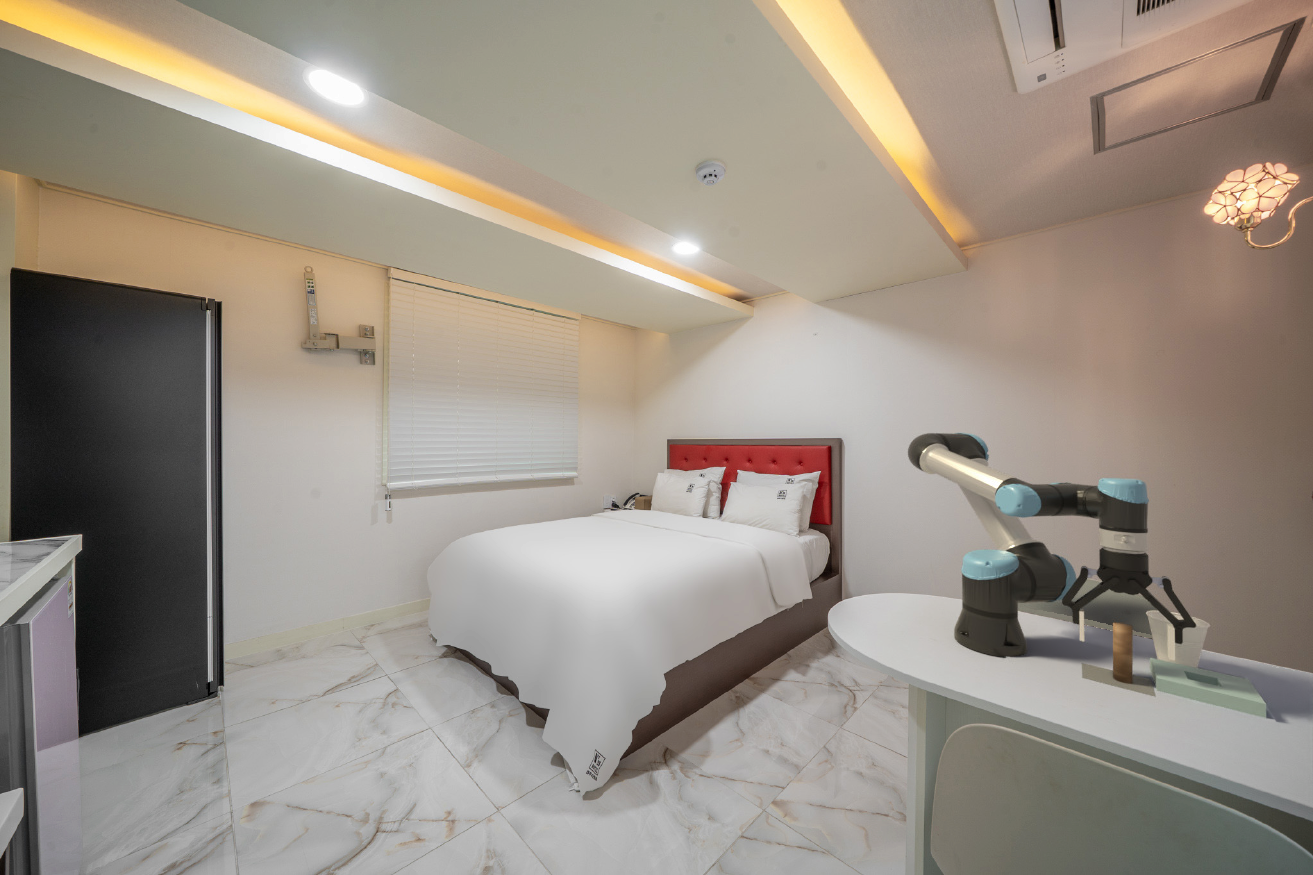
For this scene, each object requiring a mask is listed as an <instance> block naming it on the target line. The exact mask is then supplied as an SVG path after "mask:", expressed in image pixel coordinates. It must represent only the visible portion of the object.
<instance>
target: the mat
mask: <svg viewBox="0 0 1313 875" xmlns="http://www.w3.org/2000/svg"><path fill="white" fill-rule="evenodd" d="M1081 678H1082V679H1085V680H1089V681H1094V682H1096V683H1100V684H1101V683H1102V684H1104V685H1109V686H1113V687H1117V688H1120V689H1125V690H1128V691H1131V692H1134V693H1140V694H1142V695H1143V694H1144V695H1146V696H1147V695H1148V696H1151V697H1154V698H1156V693H1155V691H1154V687H1153V683H1152V680H1151V679H1150V678H1146V677H1142V676H1137V675H1133V683H1132V684H1126V683H1122V682H1119V681H1116V680H1115V679H1113V669H1109V668H1105V667H1100V666H1096V665H1092V664H1087V663H1084V662H1081Z"/></svg>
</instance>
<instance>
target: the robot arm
mask: <svg viewBox="0 0 1313 875" xmlns="http://www.w3.org/2000/svg"><path fill="white" fill-rule="evenodd" d="M988 453H989V447H988V446H987V443H986V442H985V441H984V439H982V438H981V437H980V436H978V435H976V434H972V433H966V432H955V433H944V432H943V433H937V432H936V433H935V432H928V433H923V434H920V435H917V436H916V437H915V438H914V439H913V440H912V441H911V442H910V443H909V445H908V448H907V457H908V460H909V461H910V463H911V464H912V465H913V467H915V468H916V469H918V470H919V471H921V472H923V473H925V474H929V475H938V476H940V477H942V478H944V479H947V480H948V481H951V482H953V483H954V484H957V485H958V486H959V488H960V490H961V492H962V493H963V495H964V497H965V498H966V500H967V502H968V503H969V505H970V507H971V509H973V511H974V513H975V516H977V518H978V519H979V521H980V523H981V524H982V526H983V528H984V529H985V531H986V533H987V535H988V536H989V538H990V539H991V541H992V542H993V544H994V546H995V548H996V549H986V548H985V549H976V550H972V551H969V552H967V553H966V554H964V556H962V557H963V558H962V566H961V568H960V569H961V579H962V580H961V584H962V586H961V587H962V588H961V589H962V590H961V591H962V592H961V595H962V596H961V597H962V598H961V599H962V600H961V602H962V603H961V604H962V605H961V606H962V607H961V610H960V614H959V616H958V619H957V621H956V623H955V626H954V631H953V632H954V633H953V635H954V639H955V641H956V640H957V641H956V642H958V643H959V644H960V645H962V646H963V647H966V648H968V649H970V650H972V651H975V652H978V653H981V654H986V655H989V656H996V657H1002V658H1007V657H1009V658H1012V657H1013V658H1015V657H1022V656H1024V655H1026V654H1027V652H1028V643H1027V640H1026V637H1025V635H1024V632H1023V628H1022V627H1021V624H1020V622H1019V604H1027V603H1029V604H1030V603H1031V604H1032V603H1055V602H1058V601H1061V604H1062V605H1063V606H1065V607H1068V608H1070V609H1071V611H1072V623H1073V624H1074V625H1079V642H1085V610H1084V607H1085V606H1086V605H1088V604H1090V603H1091V602H1093V600H1095V599H1097V598H1098V597H1099V596H1101V595H1102V594H1104V593H1106V592H1107V591H1109V590H1110V591H1111V592H1113V593H1118V594H1127V595H1131V596H1135V595H1139V594H1140V595H1141V596H1142V597H1143V598H1144V599H1145V600H1147V602H1149V604H1151V606H1153V608H1155V609H1156V611H1159V612H1160V613H1161V614H1162V615H1163V616H1164V617H1165V618H1166V619H1167V620H1168V621H1169V622H1170V623H1171V624H1173V625H1171V624H1167V644H1168V657H1169V659H1170V660H1175V643H1177V644H1182V643H1183V629H1184V628H1189V627H1191V628H1195V627H1196V624H1195V622H1194V621H1193V619H1192V618H1191V615H1190V613H1189V612H1188V611H1187V609H1186V607H1185V606H1184V605H1183V603H1182V601H1180V599H1179V597H1178V596H1177V595H1176V593H1175V591H1174V590H1173V584H1172V581H1171V579H1170V578H1169V577H1168V576H1164V575H1163V576H1161V577H1158V576H1156V577H1155V576H1151V575H1150V573H1149V572H1150V571H1149V570H1150V569H1149V568H1150V567H1149V566H1150V565H1149V559H1150V558H1149V554H1148V553H1147V551H1149V528H1148V512H1149V510H1148V509H1149V502H1150V499H1149V498H1148V488H1147V484H1146V482H1145V481H1143V480H1141V479H1137V478H1119V477H1103V478H1100V479H1099V480H1098V484H1097V485H1088V484H1079V483H1072V482H1051V483H1048V484H1047V483H1046V484H1045V483H1041V484H1040V483H1039V484H1037V483H1029V482H1027V481H1025V480H1022V479H1019V478H1017V477H1014V476H1012V475H1009V474H1007V473H1005V472H1002V471H999V470H997V469H995V468H992V467H989V462H988V461H989V458H990V454H988ZM1067 516H1068V517H1069V516H1070V517H1072V516H1075V517H1085V518H1092V519H1096V520H1098V530H1099V531H1098V537H1099V538H1098V542H1099V543H1098V544H1099V546H1100V549H1099V551H1098V552H1099V556H1098V558H1099V566H1098V569H1094V568H1091V567H1087V566H1086V565H1081V567H1080V572H1079V575H1078V577H1077V574H1076V571H1075V569H1074V566H1073V565H1072V564H1071V562H1069V560H1068V559H1067V558H1065V557H1063V556H1060V555H1058V554H1056V553H1051V552H1050V550H1049V549H1048V548H1047V547H1048V546H1046V544H1045V543H1044V542H1043V541H1040V540H1037V539H1034V538H1033V537H1032V536H1031V534H1030V532H1029V531H1028V529H1027V528H1026V526H1025V525H1024V523H1023V522H1022V520H1021V519H1020V518H1022V519H1023V518H1030V517H1032V518H1033V517H1067ZM1093 576H1097V577H1098V578H1099V579H1100V581H1101V582H1099V583H1098V584H1097V585H1096V586H1094V587H1092V589H1090V590H1089V591H1087V592H1086V593H1084V594H1083V595H1082V596H1080V598H1078V599H1077V600H1075V601H1073V599H1074V598H1075V597H1076V595H1077V594H1078V593H1079V591H1080V590H1081V589H1082V588H1083V586H1084V585H1085V583H1086V582H1087V579H1092V578H1093ZM1152 583H1153V584H1156V586H1157V587H1158V588H1159V589H1163V591H1164V592H1165V594H1166V595H1167V597H1168V599H1169V600H1170V601H1171V603H1172V604H1173V606H1174V607H1175V609H1176V611H1177V612H1178V613H1179V614H1180V615H1181V616H1182V618H1183V620H1178V619H1177V618H1176V617H1175V616H1174V615H1173V614H1172V613H1171V611H1170V610H1169V609H1168V608H1167V607H1165V605H1164V604H1162V602H1161V601H1160V600H1158V599H1157V597H1155V596H1154V595H1153V594H1152V593H1151V592H1150V591H1149V590H1148V589H1147V588H1148V587H1149V586H1151V585H1152Z"/></svg>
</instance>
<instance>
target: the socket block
mask: <svg viewBox="0 0 1313 875" xmlns="http://www.w3.org/2000/svg"><path fill="white" fill-rule="evenodd" d="M1149 671H1150V673H1151V677H1152V680H1153V682H1154V686H1155V690H1156V691H1158V692H1161V693H1163V694H1169V695H1172V696H1177V697H1181V698H1185V699H1188V700H1193V701H1196V702H1200V703H1205V704H1209V705H1212V706H1215V707H1220V708H1224V709H1229V710H1232V711H1236V712H1240V713H1244V714H1249V715H1253V716H1257V717H1260V718H1264V719H1267V703H1266V702H1265V701H1264V699H1263V698H1262V696H1261V695H1260V694H1259V692H1258V691H1257V689H1256V688H1255V687H1254V685H1253V684H1252V683H1251V681H1250V680H1249V679H1248V678H1244V677H1240V676H1235V675H1229V674H1227V673H1222V672H1217V671H1213V670H1208V669H1203V668H1199V667H1197V668H1195V667H1190V666H1186V665H1181V664H1176V663H1172V662H1167V661H1163V660H1158V659H1157V658H1154V657H1149Z"/></svg>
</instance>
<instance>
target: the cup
mask: <svg viewBox="0 0 1313 875" xmlns="http://www.w3.org/2000/svg"><path fill="white" fill-rule="evenodd" d="M1170 612H1171V611H1170ZM1171 613H1172V614H1173V615H1174V616H1175V617H1176V618H1177V619H1178V620H1183V618H1182V616H1181V615H1180V613H1179V612H1178V613H1177V612H1174V611H1173V612H1171ZM1145 614H1146V616H1147V618H1148V622H1149V629H1150V630H1151V636H1152V640H1153V645H1154V649H1155V655H1156V659H1158V660H1163V661H1167V662H1172V663H1176V664H1181V665H1186V666H1190V667H1195V668H1199V667H1198V666H1199V663H1200V658H1201V654H1202V651H1203V648H1204V643H1205V640H1206V637H1207V633H1208V629H1209V628H1210V627H1211V625H1210V623H1209V622H1207V621H1205V620H1203V619H1200V618H1198V617H1195V616H1191V615H1190V616H1191V618H1192V619H1193V621H1194V622H1195V624H1196V627H1195V628H1191V627H1189V628H1184V629H1183V643H1182V644H1177V643H1175V660H1170V659H1169V657H1168V644H1167V624H1171V623H1170V622H1169V621H1168V620H1167V619H1166V618H1165V617H1164V616H1163V615H1162V614H1161V613H1160V612H1159V611H1158V610H1147V611H1146V612H1145ZM1171 625H1173V624H1171Z"/></svg>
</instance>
